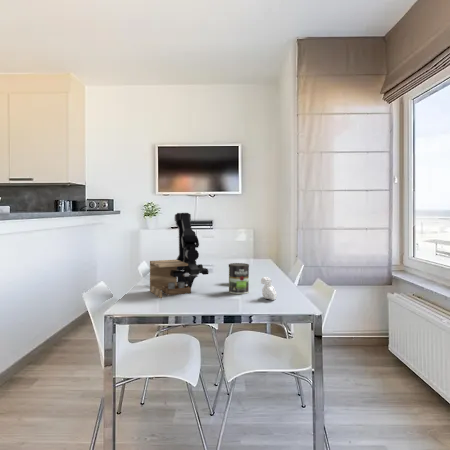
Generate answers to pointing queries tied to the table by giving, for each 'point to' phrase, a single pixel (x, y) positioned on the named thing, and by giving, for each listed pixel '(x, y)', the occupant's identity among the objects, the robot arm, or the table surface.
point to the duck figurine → (268, 289)
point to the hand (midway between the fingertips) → (189, 289)
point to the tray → (176, 288)
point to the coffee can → (238, 278)
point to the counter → (162, 274)
